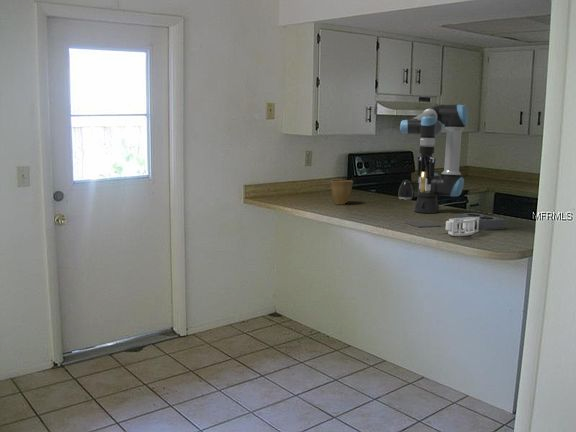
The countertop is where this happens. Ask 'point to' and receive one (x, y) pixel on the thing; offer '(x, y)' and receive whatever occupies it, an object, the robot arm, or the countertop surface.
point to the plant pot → (341, 190)
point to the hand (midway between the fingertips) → (424, 189)
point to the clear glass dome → (405, 190)
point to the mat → (423, 224)
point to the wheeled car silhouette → (467, 225)
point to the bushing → (423, 182)
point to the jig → (484, 221)
